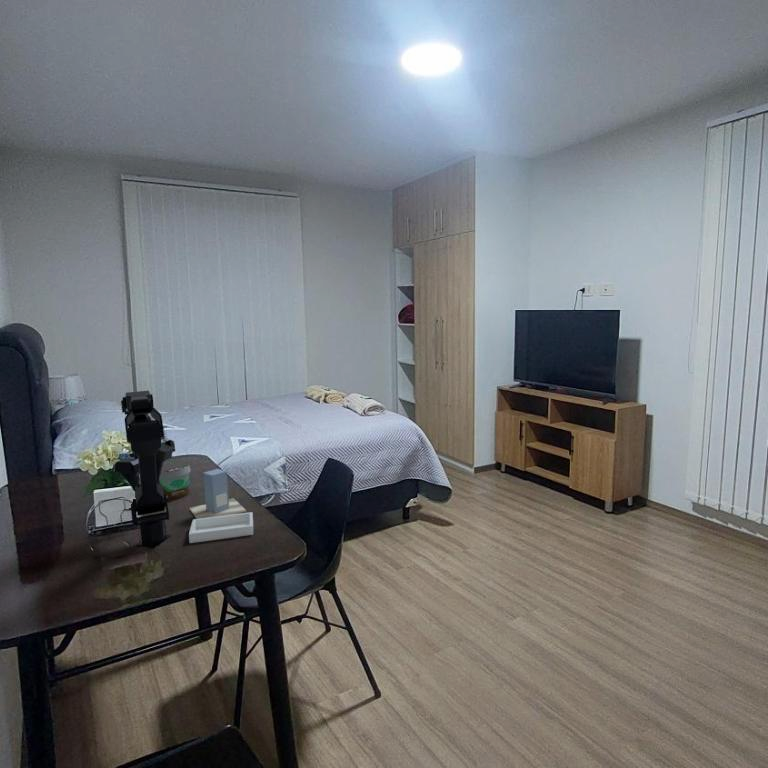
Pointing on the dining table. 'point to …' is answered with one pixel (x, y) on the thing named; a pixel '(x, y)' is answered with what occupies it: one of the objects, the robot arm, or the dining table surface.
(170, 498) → the food container
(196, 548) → the dining table surface
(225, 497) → the carton
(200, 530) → the tray
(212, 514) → the board
